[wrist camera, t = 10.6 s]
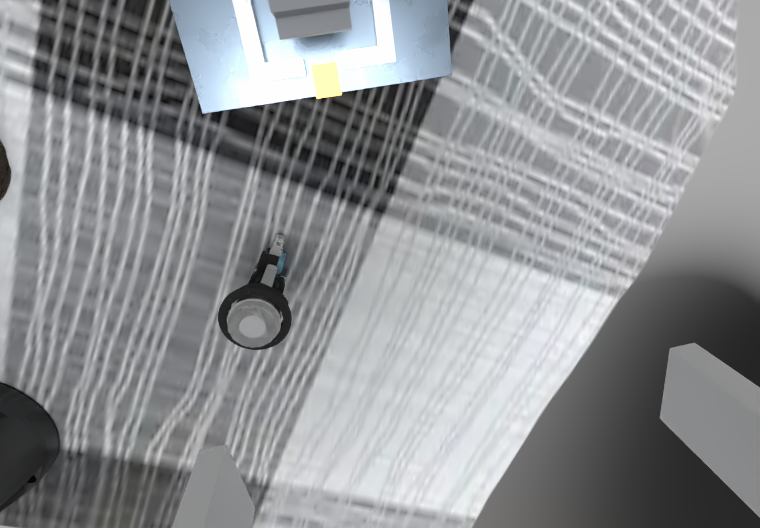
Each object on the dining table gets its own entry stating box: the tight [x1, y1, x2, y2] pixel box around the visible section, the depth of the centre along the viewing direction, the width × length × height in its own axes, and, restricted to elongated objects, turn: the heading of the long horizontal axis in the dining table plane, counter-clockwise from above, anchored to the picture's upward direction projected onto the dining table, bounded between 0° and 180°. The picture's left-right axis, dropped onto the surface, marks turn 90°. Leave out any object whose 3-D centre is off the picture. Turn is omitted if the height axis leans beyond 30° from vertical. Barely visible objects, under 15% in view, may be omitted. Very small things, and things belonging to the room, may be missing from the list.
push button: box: [218, 234, 292, 350], centre depth 34 cm, size 7×5×10 cm
